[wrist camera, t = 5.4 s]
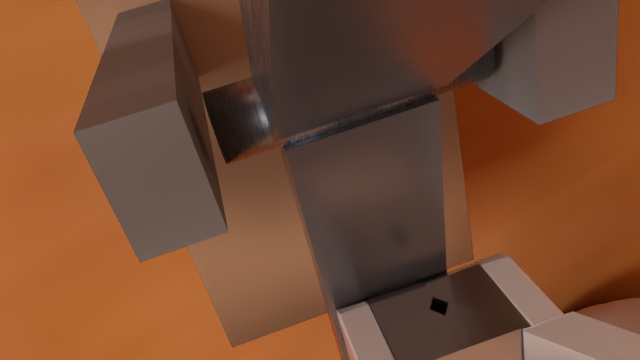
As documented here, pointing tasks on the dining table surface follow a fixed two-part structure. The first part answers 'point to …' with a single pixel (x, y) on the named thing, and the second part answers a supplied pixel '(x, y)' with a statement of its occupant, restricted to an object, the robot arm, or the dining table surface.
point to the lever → (360, 125)
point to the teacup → (617, 313)
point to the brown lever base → (268, 168)
